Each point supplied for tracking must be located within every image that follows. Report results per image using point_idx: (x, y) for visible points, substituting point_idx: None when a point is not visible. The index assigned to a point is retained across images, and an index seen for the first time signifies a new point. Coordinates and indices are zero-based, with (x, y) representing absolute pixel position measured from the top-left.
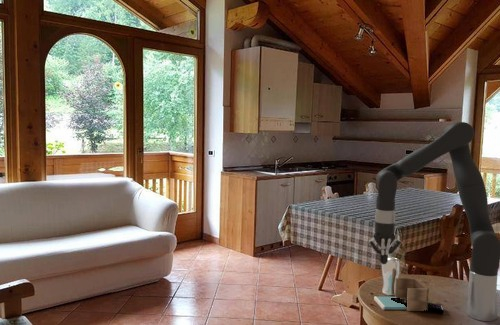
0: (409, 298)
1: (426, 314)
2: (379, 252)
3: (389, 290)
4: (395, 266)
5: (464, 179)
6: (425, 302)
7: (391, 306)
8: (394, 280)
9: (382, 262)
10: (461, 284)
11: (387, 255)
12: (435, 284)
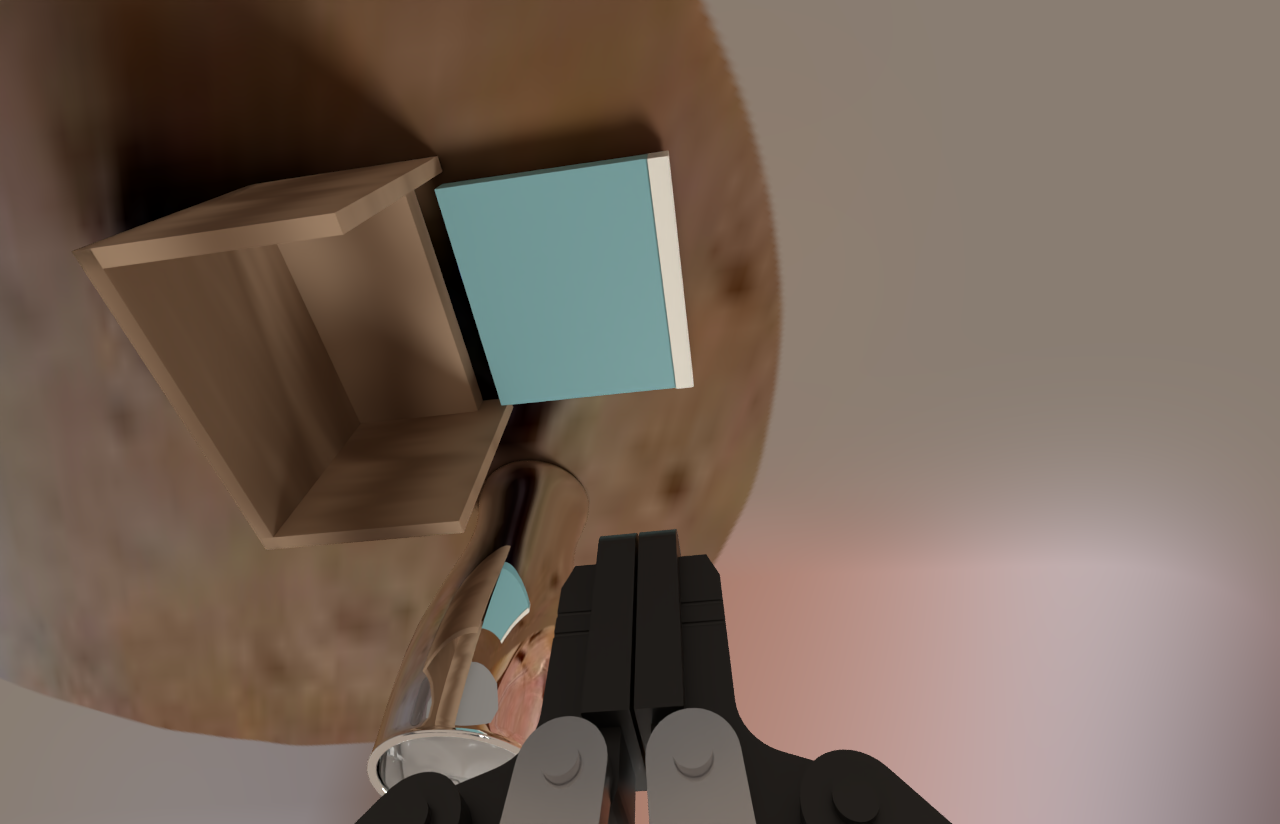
0: (368, 188)
1: (259, 115)
2: (813, 790)
3: (538, 491)
4: (432, 675)
5: None
6: (217, 201)
7: (579, 182)
8: (479, 553)
9: (677, 555)
10: (51, 656)
11: (548, 718)
12: (210, 645)
